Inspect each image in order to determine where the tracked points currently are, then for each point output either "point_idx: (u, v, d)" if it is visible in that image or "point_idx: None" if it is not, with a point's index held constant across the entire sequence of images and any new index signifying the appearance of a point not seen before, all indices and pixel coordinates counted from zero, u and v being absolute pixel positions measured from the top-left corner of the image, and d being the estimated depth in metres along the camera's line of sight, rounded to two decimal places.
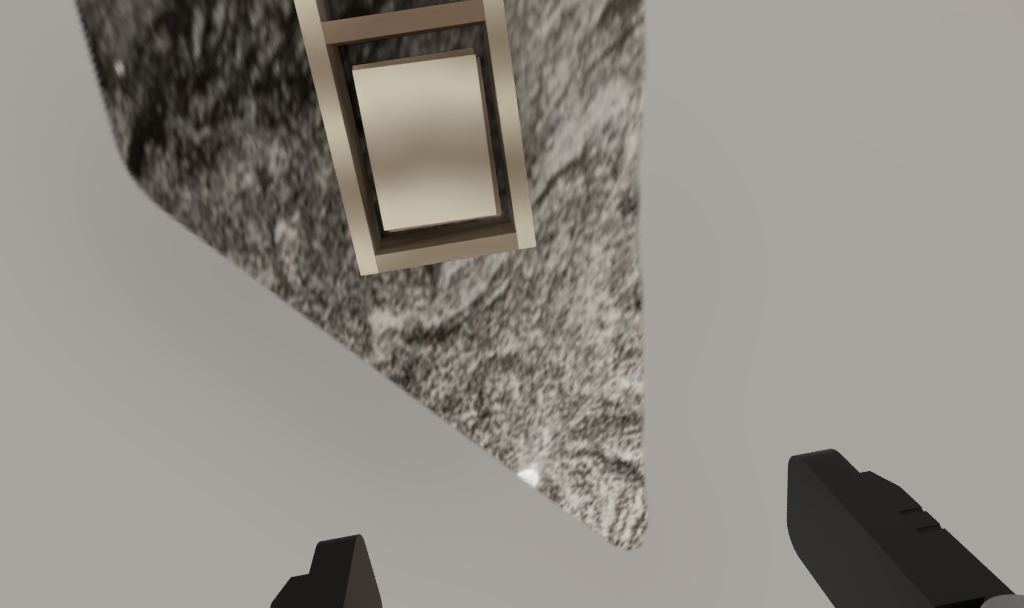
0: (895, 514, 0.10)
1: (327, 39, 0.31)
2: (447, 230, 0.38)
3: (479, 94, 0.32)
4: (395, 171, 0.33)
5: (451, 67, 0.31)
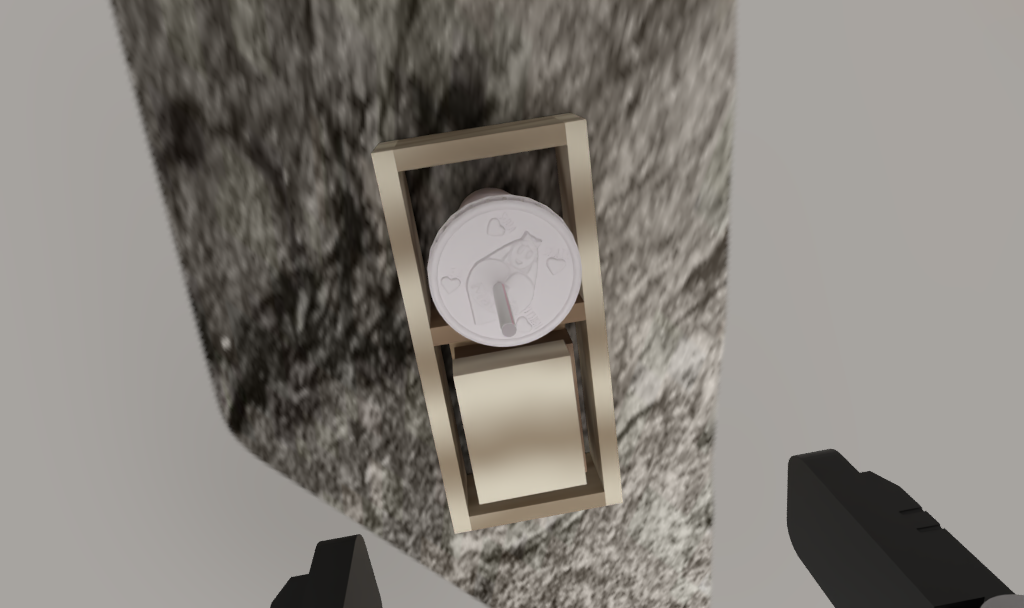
0: (895, 514, 0.10)
1: (435, 342, 0.33)
2: None
3: (573, 387, 0.33)
4: (491, 455, 0.34)
5: (547, 367, 0.32)
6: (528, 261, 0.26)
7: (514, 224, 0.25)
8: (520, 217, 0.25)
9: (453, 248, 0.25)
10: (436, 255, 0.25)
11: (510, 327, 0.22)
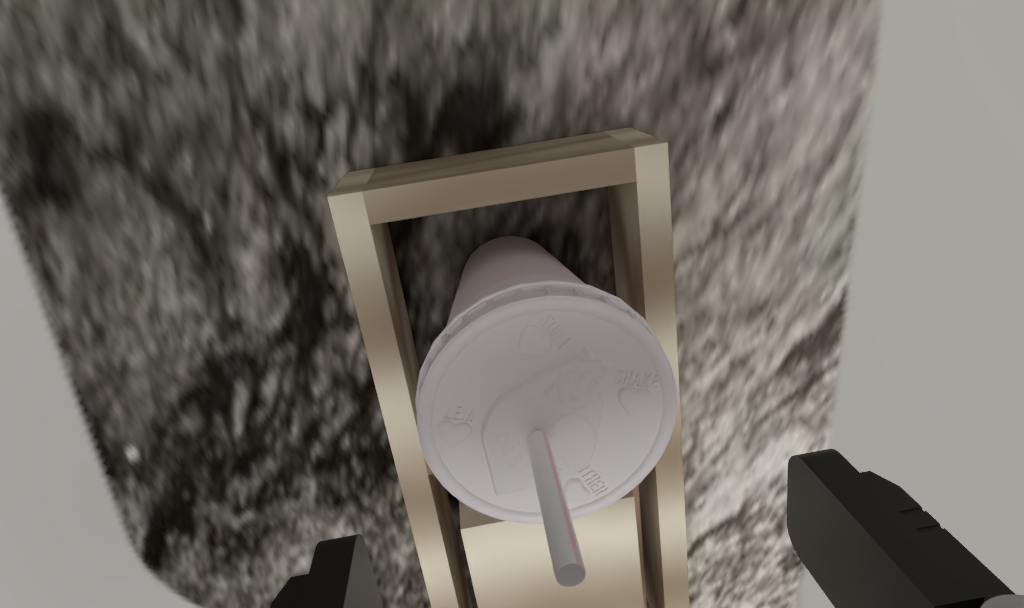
0: (895, 514, 0.10)
1: (430, 469, 0.22)
2: None
3: (636, 539, 0.22)
4: None
5: (599, 513, 0.22)
6: (588, 395, 0.15)
7: (565, 334, 0.14)
8: (577, 323, 0.14)
9: (459, 376, 0.15)
10: (430, 389, 0.14)
11: (573, 571, 0.11)
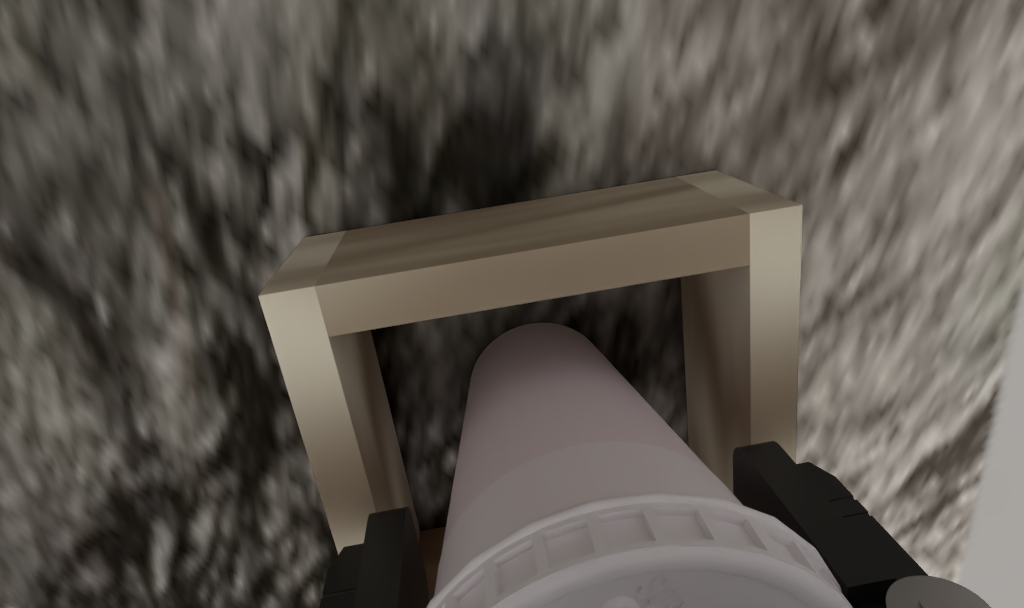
0: (824, 502, 0.10)
1: None
2: None
3: None
4: None
5: None
6: None
7: None
8: (709, 591, 0.07)
9: None
10: None
11: None
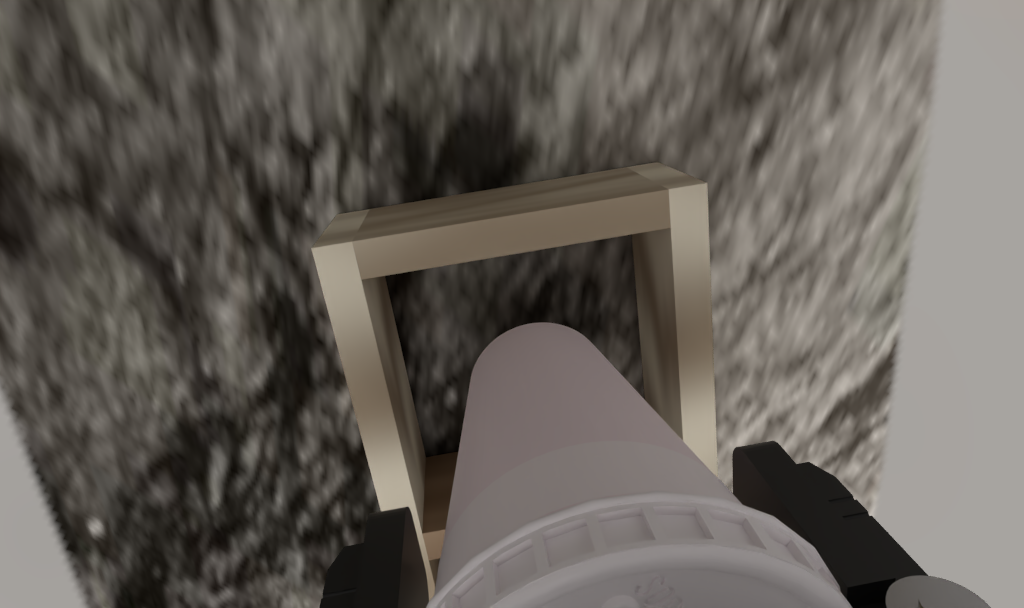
0: (824, 502, 0.10)
1: (432, 554, 0.19)
2: None
3: None
4: None
5: None
6: None
7: (686, 607, 0.07)
8: (709, 589, 0.07)
9: None
10: None
11: None
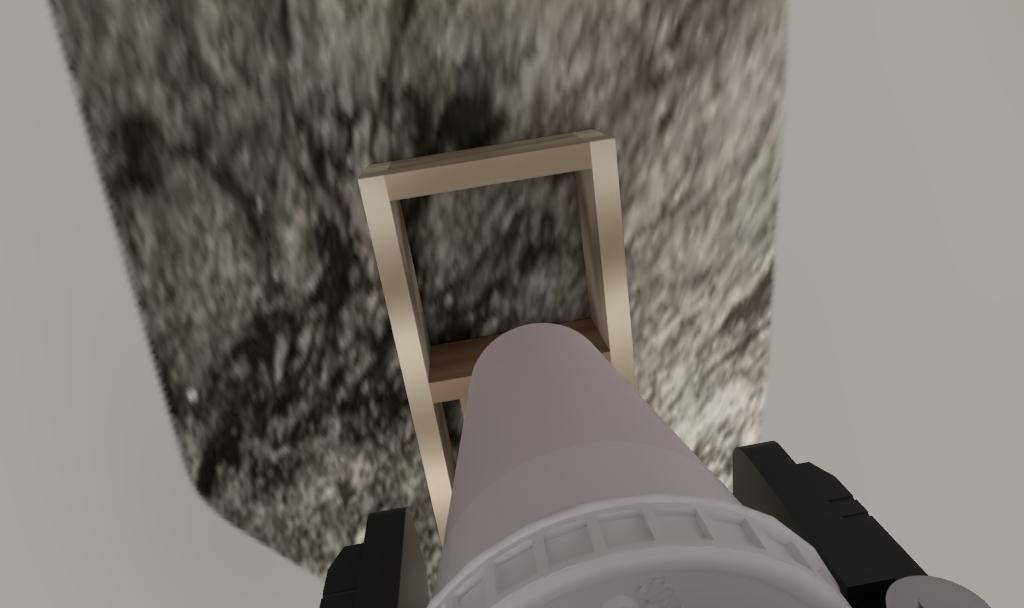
0: (824, 502, 0.10)
1: (435, 399, 0.28)
2: None
3: None
4: None
5: None
6: None
7: None
8: (708, 590, 0.07)
9: None
10: None
11: None
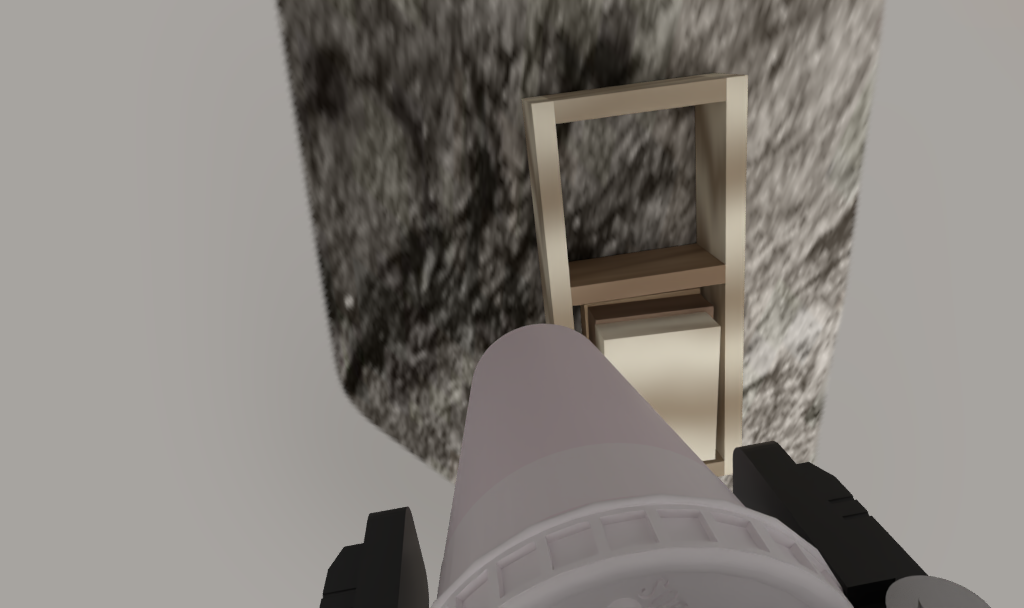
0: (824, 502, 0.10)
1: (574, 301, 0.32)
2: None
3: (718, 359, 0.33)
4: None
5: (696, 337, 0.32)
6: None
7: None
8: (712, 592, 0.07)
9: None
10: None
11: None
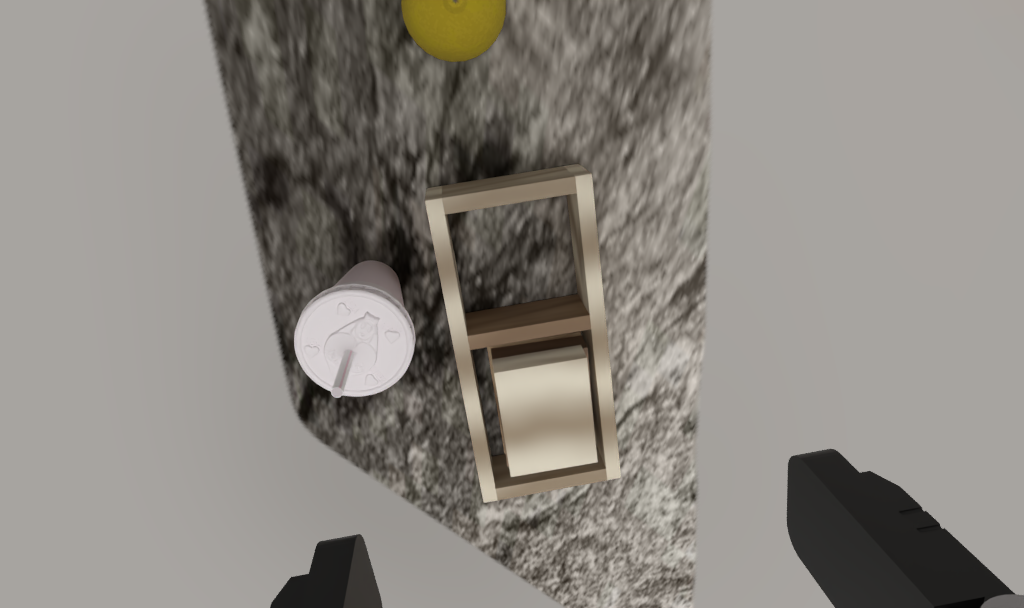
0: (895, 514, 0.10)
1: (471, 346, 0.41)
2: None
3: (588, 383, 0.41)
4: (521, 437, 0.42)
5: (568, 367, 0.41)
6: (369, 334, 0.34)
7: (357, 306, 0.34)
8: (361, 302, 0.33)
9: (312, 324, 0.34)
10: (298, 330, 0.34)
11: (337, 390, 0.30)
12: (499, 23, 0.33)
